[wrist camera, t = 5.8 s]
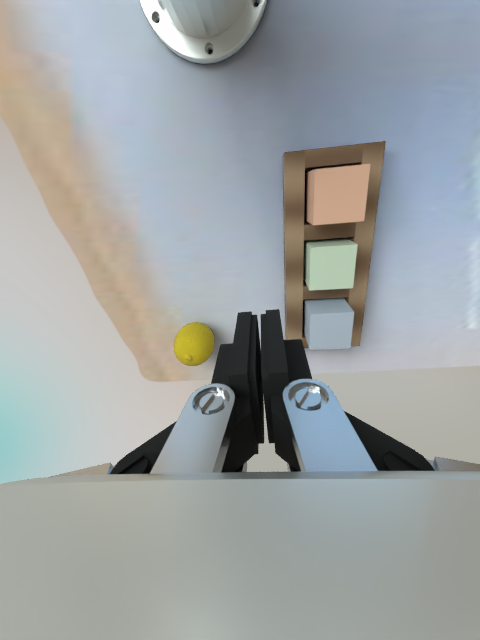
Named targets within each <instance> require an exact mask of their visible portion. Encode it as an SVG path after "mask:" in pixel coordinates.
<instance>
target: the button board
mask: <svg viewBox="0 0 480 640" xmlns="http://www.w3.org/2000/svg"><path fill="white" fill-rule="evenodd" d="M385 142H386V141H382V142H373V143H364V144H355V145H346V146H337V147H328V148H319V149H310V150H301V151H293V152H285V153H284V154H283V211H284V276H285V338H286V340H291V339H302V342H303V346H304V348H309V347H308V344H307V340H306V337H305V333H304V328H302V318H303V300H305V299H324V298H342V297H343V298H344V299H345V300H346V302H347V303H348V304H349V306H350V307H351V308H352V310H353V311H354V320H353V329H352V338H351V346H360V340H361V332H362V324H363V316H364V308H365V300H366V292H367V284H368V277H369V269H370V261H371V253H372V245H373V237H374V229H375V221H376V213H377V205H378V197H379V190H380V182H381V174H382V166H383V158H384V150H385ZM351 164H353V165H362V164H370V173H369V182H368V191H367V201H366V210H365V219H364V221H360V222H348V223H336V224H324V225H312V224H311V223H309V222H304V194H305V169H313V168H323V167H332V166H342V165H351ZM344 237H347V239H349V240H351V241H353V242H354V243H356V244H358V245H357V255H356V265H355V274H354V284H353V288H346V289H328V290H311V291H309V289H308V287H307V285H306V282H305V280H303V256H304V240H318V239H331V238H344Z"/></svg>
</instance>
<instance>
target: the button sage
mask: <svg viewBox="0 0 480 640" xmlns="http://www.w3.org/2000/svg"><path fill="white" fill-rule="evenodd" d="M357 245H358V244H356V243H354V242H353V241H351V240H349V239H347V238H346V237H344V238H331V239H318V240H304V274H303V278H304V280H305V282H306V285H307V287H308V289H309V291H311V290H328V289H346V288H353V284H354V274H355V265H356V255H357Z"/></svg>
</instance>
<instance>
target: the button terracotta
mask: <svg viewBox="0 0 480 640" xmlns="http://www.w3.org/2000/svg"><path fill="white" fill-rule="evenodd" d="M369 173H370V164H362V165H352V166H343V167H333V168H323V169H315V170H312V171H309V172H307V190H306V221H308V222H309V223H311V224H312V225H324V224H336V223H348V222H360V221H364V219H365V210H366V201H367V191H368V182H369Z"/></svg>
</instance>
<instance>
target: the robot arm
mask: <svg viewBox="0 0 480 640" xmlns="http://www.w3.org/2000/svg"><path fill="white" fill-rule="evenodd" d="M139 2H140V4H141V7H142V9H143V12H144V14H145V16H146V18H147V20H148V21H149V23H150V25H151V27H152V29H153V30H154V31H155V33H156V34H157V36H158V37H159V38H160V40H161V41H162V42H163V43H164V44H165V45H166V46H167V47H168V48H169V49H170V50H171V51H173V52H174V53H175V54H177V55H178V56H180V57H181V58H184V59H186V60H188V61H191V62H195V63H201V64H207V63H216V62H219V61H221V60H224V59H227V58H228V57H230V56H231V55H233V54H234V53H236V52H237V51H238V50H239V49H240V48H241V47H242V46H243V45H244V44H245V43H246V42H247V41H248V40H249V38H250V37H251V35H252V34H253V33H254V31H255V30H256V28H257V26H258V23H259V21H260V19H261V17H262V15H263V12H264V9H265V6H266V3H267V0H139ZM255 3H258V4H259V6H258V7H254V4H255ZM158 20H160V22H159V23H158V24H157V21H158ZM209 50H212V51H213V53H212V54H210V55H209V54H208V52H209ZM263 394H264V403H265V411H266V421H267V430H268V439H269V443H275V452H276V454H278V455H279V456H280V457H281V458H282V459H283V460H285V461H286V462H287V465H288V472H247V461H248V460H249V459H250V458H251V457H252V456H253V455H254V454H258V444H259V443H264V406H263ZM0 640H480V464H475V463H469V462H463V461H458V460H452V459H445V458H440V457H435V459H434V461H431V460H426V459H425V458H424V457H423V456H422V455H421V454H419V453H418V452H416V451H415V450H413V449H411V448H410V447H408V446H406V445H404V444H403V443H401V442H398V441H397V440H395V439H394V438H392V437H390V436H388V435H386V434H385V433H383V432H381V431H379V430H377V429H376V428H374V427H372V426H370V425H368V424H367V423H365V422H363V421H361V420H359V419H358V418H356V417H354V416H352V415H350V414H349V413H347V412H345V411H344V410H343V409H342V407H341V405H340V404H339V402H338V400H337V398H336V396H335V395H334V393H333V391H332V390H331V389H330V388H329V386H327V385H326V384H324V383H322V382H320V381H317V380H313V379H312V377H311V373H310V369H309V365H308V361H307V358H306V354H305V350H304V346H303V342H302V339H291V340H284V339H283V333H282V326H281V319H280V312H279V309H277V310H266V314H261V349H260V339H259V330H258V320H257V315H252V312H241V313H238V316H237V323H236V329H235V335H234V341H233V344H221V345H220V348H219V353H218V357H217V361H216V365H215V369H214V374H213V378H212V382H211V384H209V385H205V386H203V387H201V388H199V389H197V390H196V391H195V392H193V393H192V395H191V396H190V397H189V399H188V401H187V403H186V405H185V407H184V409H183V410H182V412H181V415H180V416H179V418H178V420H177V421H176V422H175V423H173V424H172V425H170V426H169V427H167V428H166V429H164V430H163V431H161V432H160V433H159V434H157V435H155V436H154V437H153V438H151V439H150V440H148V441H147V442H145V443H144V444H142V445H141V446H140V447H138V448H136V449H135V450H134V451H132V452H130V453H129V454H127V455H126V456H125V457H124V458H123V459H121V460H120V461H119V462H118V463H117V464H116V465H115V466H112V464H111V463H106V464H102V465H98V466H93V467H89V468H86V469H81V470H77V471H73V472H68V473H64V474H60V475H56V476H51V477H47V478H35V479H27V480H21V481H15V482H8V483H4V484H0Z"/></svg>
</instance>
